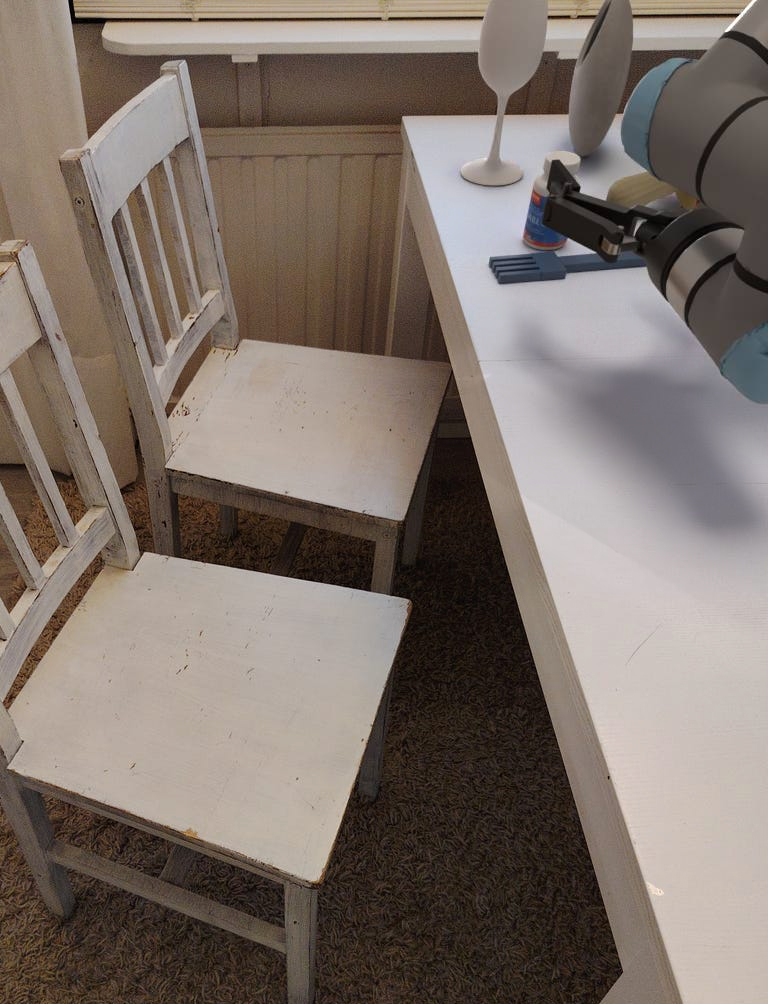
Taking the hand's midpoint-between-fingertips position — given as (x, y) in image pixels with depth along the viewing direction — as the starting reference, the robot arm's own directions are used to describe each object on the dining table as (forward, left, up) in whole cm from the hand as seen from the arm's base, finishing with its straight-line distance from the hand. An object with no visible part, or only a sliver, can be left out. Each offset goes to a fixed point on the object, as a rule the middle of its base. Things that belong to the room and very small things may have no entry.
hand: (617, 168), depth 84 cm
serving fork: (-2, -7, -14) cm, 16 cm away
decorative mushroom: (-17, -20, -14) cm, 30 cm away
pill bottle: (0, -14, -14) cm, 20 cm away
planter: (-14, -40, -14) cm, 44 cm away
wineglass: (+1, -35, -14) cm, 38 cm away
